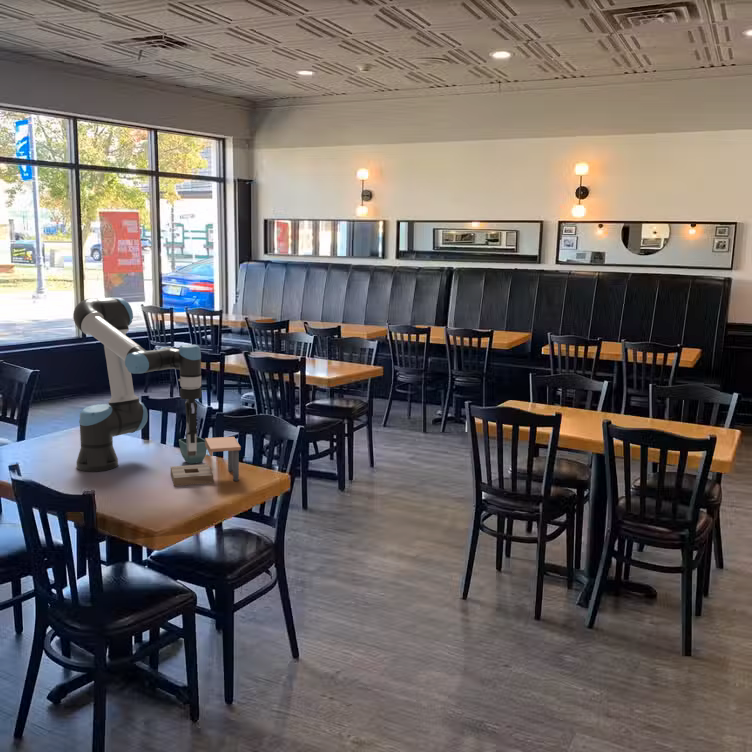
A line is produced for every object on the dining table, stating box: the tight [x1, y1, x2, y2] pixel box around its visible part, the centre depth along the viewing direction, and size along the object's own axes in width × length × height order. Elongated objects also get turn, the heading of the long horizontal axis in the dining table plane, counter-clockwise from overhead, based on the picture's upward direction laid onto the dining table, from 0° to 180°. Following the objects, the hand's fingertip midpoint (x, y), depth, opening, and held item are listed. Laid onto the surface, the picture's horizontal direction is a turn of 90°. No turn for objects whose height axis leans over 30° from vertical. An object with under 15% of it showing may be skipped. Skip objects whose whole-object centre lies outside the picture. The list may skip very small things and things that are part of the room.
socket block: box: [170, 463, 214, 487], centre depth 284 cm, size 14×14×3 cm
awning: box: [204, 436, 242, 482], centre depth 287 cm, size 15×11×13 cm
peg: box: [185, 422, 198, 456], centre depth 281 cm, size 4×4×12 cm
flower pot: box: [178, 436, 208, 465], centre depth 303 cm, size 9×9×9 cm
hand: (191, 449), depth 282 cm, fingers closed on peg, 3 cm apart
